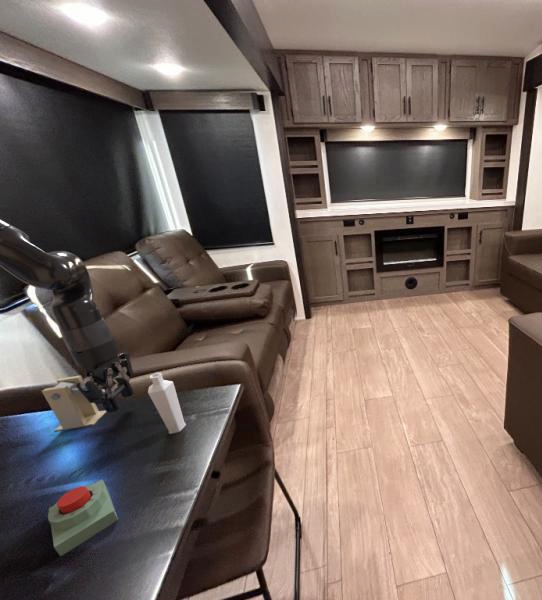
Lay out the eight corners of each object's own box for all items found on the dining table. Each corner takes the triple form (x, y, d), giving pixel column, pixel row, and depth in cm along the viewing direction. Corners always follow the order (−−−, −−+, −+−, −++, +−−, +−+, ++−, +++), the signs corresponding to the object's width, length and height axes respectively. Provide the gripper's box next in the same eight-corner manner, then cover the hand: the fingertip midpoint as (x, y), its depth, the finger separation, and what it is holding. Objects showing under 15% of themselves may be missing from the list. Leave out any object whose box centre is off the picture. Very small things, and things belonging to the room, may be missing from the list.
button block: (54, 517, 54) (43, 500, 53) (106, 487, 59) (98, 471, 58) (60, 556, 48) (48, 539, 47) (118, 519, 53) (109, 503, 52)
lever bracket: (110, 412, 80) (90, 372, 76) (93, 429, 75) (71, 387, 71) (74, 418, 79) (52, 378, 75) (54, 435, 74) (30, 393, 69)
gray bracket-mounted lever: (126, 390, 79) (125, 382, 78) (112, 403, 74) (112, 394, 73) (67, 387, 76) (66, 378, 75) (49, 400, 71) (48, 391, 70)
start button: (60, 505, 52) (55, 498, 52) (89, 489, 55) (85, 482, 54) (63, 518, 50) (57, 511, 49) (93, 501, 53) (88, 494, 52)
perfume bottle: (175, 424, 74) (152, 369, 69) (193, 423, 74) (172, 368, 69) (160, 439, 70) (135, 382, 65) (179, 438, 70) (156, 381, 65)
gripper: (95, 330, 77) (123, 388, 83) (44, 360, 64) (81, 427, 70) (129, 325, 78) (154, 383, 84) (86, 354, 65) (119, 420, 71)
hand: (121, 402), depth 77 cm, fingers closed on gray bracket-mounted lever, 5 cm apart
